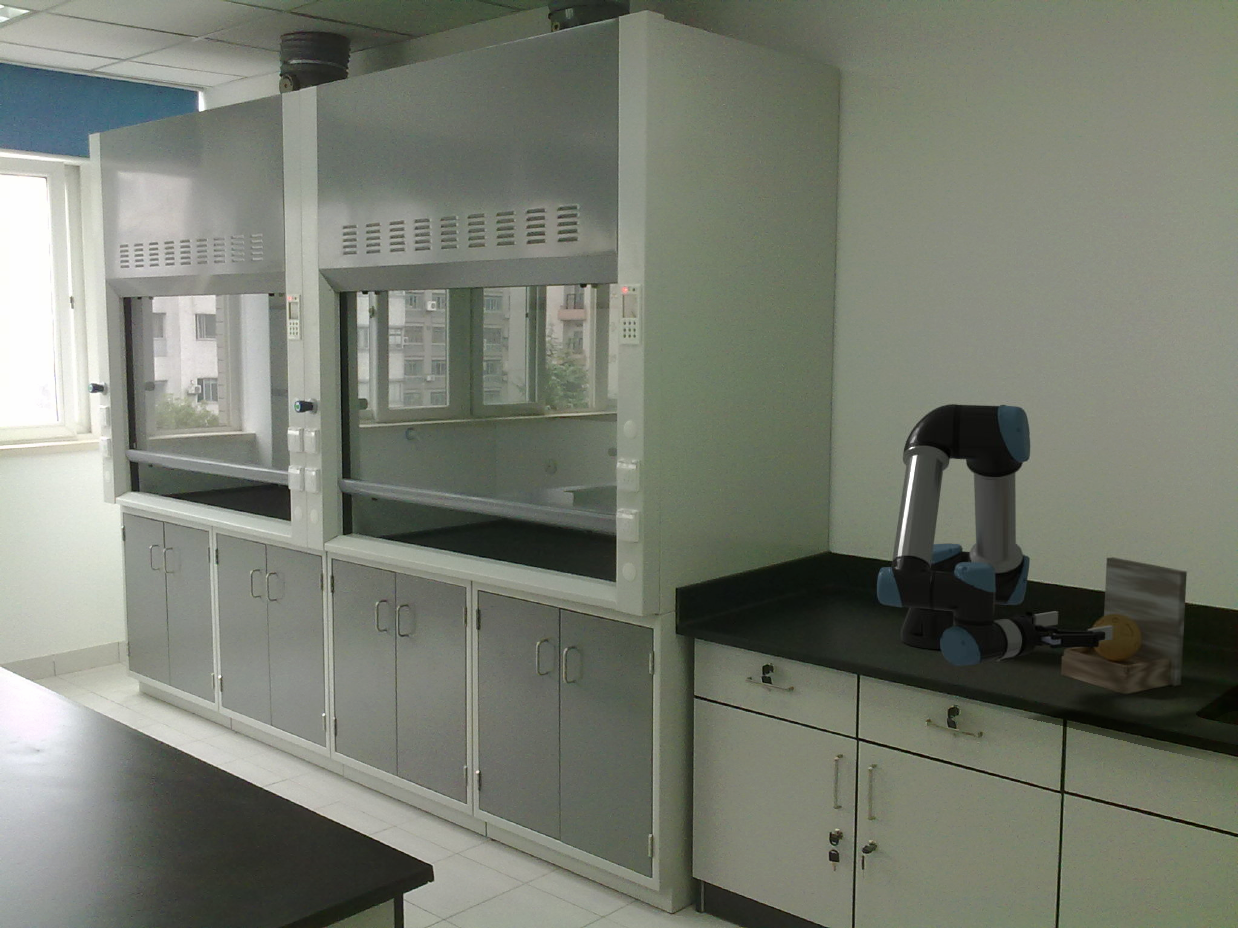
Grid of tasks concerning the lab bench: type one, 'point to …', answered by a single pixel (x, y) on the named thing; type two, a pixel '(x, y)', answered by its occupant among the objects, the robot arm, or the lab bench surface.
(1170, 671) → the ledge stand
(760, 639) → the lab bench surface
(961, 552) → the robot arm
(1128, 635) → the stress ball
